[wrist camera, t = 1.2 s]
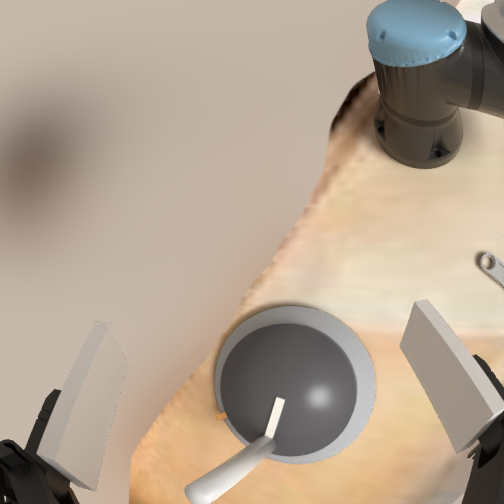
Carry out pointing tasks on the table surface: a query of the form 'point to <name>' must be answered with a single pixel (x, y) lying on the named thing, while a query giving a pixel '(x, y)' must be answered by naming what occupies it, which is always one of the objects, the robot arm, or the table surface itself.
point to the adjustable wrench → (494, 268)
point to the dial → (280, 400)
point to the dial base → (343, 338)
